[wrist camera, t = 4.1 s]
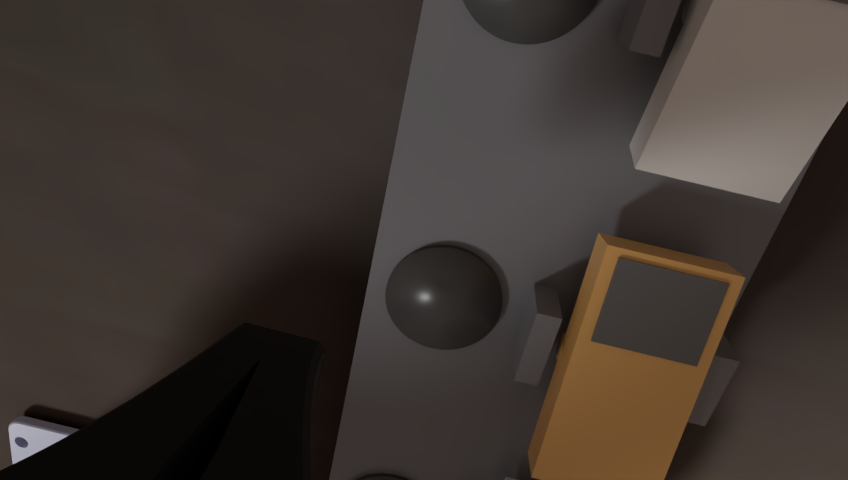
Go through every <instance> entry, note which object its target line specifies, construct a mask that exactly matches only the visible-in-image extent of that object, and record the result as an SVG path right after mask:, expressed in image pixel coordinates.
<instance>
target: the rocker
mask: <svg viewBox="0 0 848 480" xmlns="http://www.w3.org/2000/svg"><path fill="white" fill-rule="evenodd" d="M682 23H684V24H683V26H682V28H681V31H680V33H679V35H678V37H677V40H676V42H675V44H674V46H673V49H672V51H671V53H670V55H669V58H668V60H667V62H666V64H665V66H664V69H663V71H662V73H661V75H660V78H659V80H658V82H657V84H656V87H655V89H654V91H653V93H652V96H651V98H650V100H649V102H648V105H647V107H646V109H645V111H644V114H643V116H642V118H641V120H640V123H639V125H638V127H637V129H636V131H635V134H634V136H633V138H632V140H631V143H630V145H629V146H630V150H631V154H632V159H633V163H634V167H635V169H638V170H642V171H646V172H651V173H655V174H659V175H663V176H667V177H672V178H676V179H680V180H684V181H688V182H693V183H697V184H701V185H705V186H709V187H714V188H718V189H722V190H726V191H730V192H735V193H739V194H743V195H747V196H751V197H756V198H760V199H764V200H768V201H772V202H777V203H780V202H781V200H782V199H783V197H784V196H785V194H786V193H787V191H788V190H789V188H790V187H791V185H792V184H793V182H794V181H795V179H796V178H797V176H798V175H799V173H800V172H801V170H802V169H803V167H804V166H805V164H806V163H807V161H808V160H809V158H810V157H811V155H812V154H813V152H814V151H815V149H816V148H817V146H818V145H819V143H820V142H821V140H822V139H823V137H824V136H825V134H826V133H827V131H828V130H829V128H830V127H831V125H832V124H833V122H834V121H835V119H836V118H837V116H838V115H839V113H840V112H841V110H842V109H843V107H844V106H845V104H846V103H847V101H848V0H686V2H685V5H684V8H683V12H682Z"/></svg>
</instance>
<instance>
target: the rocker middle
mask: <svg viewBox="0 0 848 480" xmlns="http://www.w3.org/2000/svg"><path fill="white" fill-rule="evenodd" d="M744 281H745V277H744V276H743V275H741V274H740V273H739V272H738V271H736V270H735V269H734V268H732V267H731V266H730V265H729V264H727V263H724V262H720V261H716V260H712V259H707V258H703V257H699V256H695V255H691V254H686V253H682V252H678V251H674V250H670V249H665V248H661V247H657V246H653V245H649V244H645V243H640V242H636V241H632V240H628V239H624V238H619V237H615V236H611V235H607V234H603V233H598V235H597V238H596V242H595V245H594V248H593V251H592V254H591V257H590V260H589V263H588V266H587V270H586V273H585V276H584V279H583V282H582V285H581V288H580V291H579V294H578V297H577V301H576V304H575V307H574V310H573V313H572V316H571V319H570V322H569V325H568V328H567V332H566V333H562V334H561V336H560V338H559V340H558V344H557V349H556V360H557V363H556V366H555V369H554V372H553V375H552V378H551V381H550V384H549V387H548V391H547V394H546V397H545V400H544V403H543V406H542V409H541V412H540V415H539V418H538V422H537V425H536V428H535V431H534V434H533V437H532V440H531V443H530V446H529V450H528V458H529V465H530V472H531V477H532V478H536V479H540V480H664V479H665V476H666V474H667V471H668V469H669V466H670V464H671V461H672V459H673V456H674V454H675V451H676V449H677V447H678V444H679V442H680V439H681V437H682V434H683V432H684V429H685V427H686V424H687V422H688V419H689V417H690V414H691V412H692V409H693V407H694V404H695V402H696V399H697V397H698V394H699V392H700V390H701V387H702V385H703V382H704V380H705V377H706V375H707V372H708V370H709V367H710V365H711V362H712V360H713V357H714V355H715V352H716V350H717V347H718V345H719V342H720V340H721V338H722V335H723V333H724V330H725V328H726V325H727V323H728V320H729V318H730V315H731V313H732V310H733V308H734V305H735V303H736V300H737V298H738V295H739V293H740V290H741V288H742V285H743V283H744Z"/></svg>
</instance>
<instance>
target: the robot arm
mask: <svg viewBox="0 0 848 480" xmlns="http://www.w3.org/2000/svg"><path fill="white" fill-rule="evenodd" d="M324 353H325V348H324V347H323V346H322V344H321V343H320V342H319V341H315V340H311V339H308V338H304V337H300V336H296V335H292V334H288V333H284V332H280V331H276V330H272V329H268V328H264V327H260V326H256V325H252V324H248V323H244V324H242V325H240V326H238V327H237V328H235V329H234V330H233V331H231V332H230V333H228V334H227V335H226V336H224V337H223V338H221V339H220V340H219V341H217V342H216V343H214V344H213V345H212V346H210V347H209V348H207V349H206V350H205V351H203V352H202V353H200V354H199V355H197V356H196V357H194V358H193V359H192V360H190V361H189V362H187V363H186V364H184V365H183V366H181V367H180V368H178V369H177V370H175V371H174V372H172V373H171V374H169V375H168V376H166V377H165V378H163V379H162V380H160V381H159V382H157V383H156V384H154V385H152V386H151V387H149V388H148V389H146V390H145V391H143V392H142V393H140V394H139V395H137V396H135V397H134V398H132V399H131V400H129V401H127V402H126V403H124V404H122V405H121V406H119V407H117V408H115V409H114V410H112V411H110V412H109V413H107V414H105V415H104V416H102V417H100V418H98V419H97V420H95V421H93V422H92V423H90V424H88V425H87V426H85V427H83V428H81V429H76V428H72V427H68V426H64V425H59V424H55V423H51V422H47V421H43V420H39V419H35V418H31V417H26V416H19V417H17V418H16V419H15V420H14V421H13V422H12V423H11V424H10V425H9V428H8V429H9V437H10V446H11V454H12V462H13V465H11V466H9V467H7V468H5V469H3V470H1V471H0V480H311V472H310V426H311V420H312V415H313V410H314V405H315V399H316V394H317V389H318V384H319V379H320V374H321V368H322V363H323V358H324Z"/></svg>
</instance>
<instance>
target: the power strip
mask: <svg viewBox="0 0 848 480" xmlns="http://www.w3.org/2000/svg"><path fill="white" fill-rule="evenodd" d="M685 2H686V0H424V1H423V6H422V11H421V16H420V21H419V26H418V31H417V36H416V41H415V47H414V52H413V57H412V62H411V67H410V72H409V77H408V82H407V87H406V92H405V97H404V102H403V107H402V112H401V118H400V123H399V128H398V133H397V138H396V143H395V148H394V153H393V158H392V163H391V168H390V173H389V178H388V183H387V189H386V194H385V199H384V204H383V209H382V214H381V219H380V224H379V229H378V234H377V239H376V244H375V249H374V254H373V260H372V265H371V270H370V275H369V280H368V285H367V290H366V295H365V300H364V305H363V310H362V315H361V320H360V325H359V331H358V336H357V341H356V346H355V351H354V356H353V361H352V366H351V371H350V376H349V381H348V386H347V391H346V396H345V402H344V407H343V412H342V417H341V422H340V427H339V432H338V437H337V442H336V447H335V452H334V457H333V462H332V467H331V473H330V478H329V480H505V477H509V478H513V479H517V480H540V479H536V478H532V477H531V472H530V465H529V458H528V450H529V446H530V443H531V440H532V437H533V434H534V431H535V428H536V425H537V422H538V418H539V415H540V412H541V409H542V406H543V403H544V400H545V397H546V394H547V391H548V387H549V384H550V381H551V378H552V375H553V372H554V369H555V366H556V363H557V360H556V349H557V344H558V340H559V338H560V336H561V334H562V333H566V332H567V328H568V325H569V322H570V319H571V316H572V313H573V310H574V307H575V304H576V301H577V297H578V294H579V291H580V288H581V285H582V282H583V279H584V276H585V273H586V270H587V266H588V263H589V260H590V257H591V254H592V251H593V248H594V245H595V242H596V238H597V235H598V233H603V234H607V235H611V236H615V237H619V238H624V239H628V240H632V241H636V242H640V243H645V244H649V245H653V246H657V247H661V248H665V249H670V250H674V251H678V252H682V253H686V254H691V255H695V256H699V257H703V258H707V259H712V260H716V261H720V262H724V263H727V264H729V265H730V266H731V267H732V268H734V269H735V270H736V271H738V272H739V273H740V274H741V275H743V276H744V277H745V281H744V283H743V285H742V288H741V290H740V293H739V295H738V298H737V300H736V303H735V305H734V308H733V310H732V313H733V311H734V310H735V308H736V306H737V304H738V302H739V300H740V298H741V296H742V294H743V292H744V290H745V288H746V286H747V284H748V282H749V281H750V279H751V277H752V275H753V273H754V271H755V269H756V267H757V265H758V263H759V261H760V259H761V257H762V255H763V253H764V252H765V250H766V248H767V246H768V244H769V242H770V240H771V238H772V236H773V234H774V232H775V230H776V228H777V226H778V225H779V223H780V221H781V219H782V217H783V215H784V213H785V211H786V209H787V207H788V205H789V203H790V201H791V199H792V197H793V196H794V194H795V192H796V190H797V188H798V186H799V184H800V182H801V180H802V178H803V176H804V174H805V172H806V170H807V168H808V167H809V165H810V163H811V161H812V159H813V157H814V155H815V153H816V151H817V149H818V147H819V145H820V143H821V142H820V143H819V145H818V146H817V148H816V149H815V151H814V152H813V154H812V155H811V157H810V158H809V160H808V161H807V163H806V164H805V166H804V167H803V169H802V170H801V172H800V173H799V175H798V176H797V178H796V179H795V181H794V182H793V184H792V185H791V187H790V188H789V190H788V191H787V193H786V194H785V196H784V197H783V199H782V200H781V202H780V203H777V202H772V201H768V200H764V199H760V198H756V197H751V196H747V195H743V194H739V193H735V192H730V191H726V190H722V189H718V188H714V187H709V186H705V185H701V184H697V183H693V182H688V181H684V180H680V179H676V178H672V177H667V176H663V175H659V174H655V173H651V172H646V171H642V170H638V169H635V167H634V163H633V159H632V154H631V150H630V146H629V145H630V143H631V140H632V138H633V136H634V134H635V131H636V129H637V127H638V125H639V123H640V120H641V118H642V116H643V114H644V111H645V109H646V107H647V105H648V102H649V100H650V98H651V96H652V93H653V91H654V89H655V87H656V84H657V82H658V80H659V78H660V75H661V73H662V71H663V69H664V66H665V64H666V62H667V60H668V58H669V55H670V53H671V51H672V49H673V46H674V44H675V42H676V40H677V37H678V35H679V33H680V31H681V28H682V26H683V24H684V23H682V12H683V8H684V5H685ZM847 102H848V101H847ZM823 138H824V137H823ZM821 141H822V140H821ZM732 313H731V315H732ZM731 315H730V317H731ZM729 319H730V318H729ZM728 321H729V320H728ZM739 363H740V360H739V359H738V357H737V355H736V354H735V352H734V350H733V349H732V347H731V345H730V344H729V342H728V340H727V338H726V337H725V335H724V333H723V335H722V338H721V340H720V342H719V345H718V347H717V350H716V352H715V355H714V357H713V360H712V362H711V365H710V367H709V370H708V372H707V375H706V377H705V380H704V382H703V385H702V387H701V390H700V392H699V394H698V397H697V399H696V402H695V404H694V407H693V409H692V412H691V414H690V417H689V419H688V422H689V423H693V424H697V425H701V426H705V425H706V424H707V422H708V420H709V418H710V416H711V414H712V413H713V411H714V409H715V407H716V405H717V403H718V402H719V400H720V398H721V396H722V394H723V393H724V391H725V389H726V387H727V385H728V383H729V382H730V380H731V378H732V376H733V374H734V372H735V371H736V369H737V367H738V365H739Z"/></svg>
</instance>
